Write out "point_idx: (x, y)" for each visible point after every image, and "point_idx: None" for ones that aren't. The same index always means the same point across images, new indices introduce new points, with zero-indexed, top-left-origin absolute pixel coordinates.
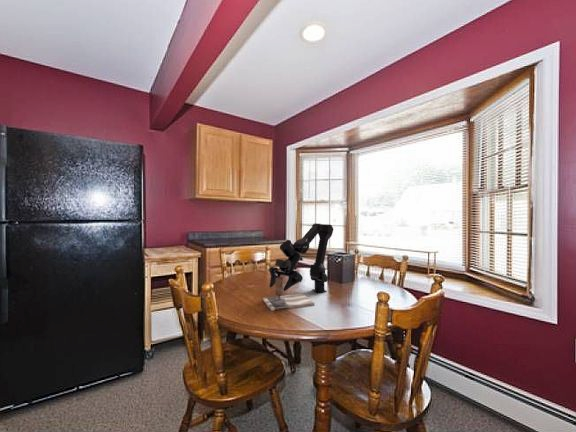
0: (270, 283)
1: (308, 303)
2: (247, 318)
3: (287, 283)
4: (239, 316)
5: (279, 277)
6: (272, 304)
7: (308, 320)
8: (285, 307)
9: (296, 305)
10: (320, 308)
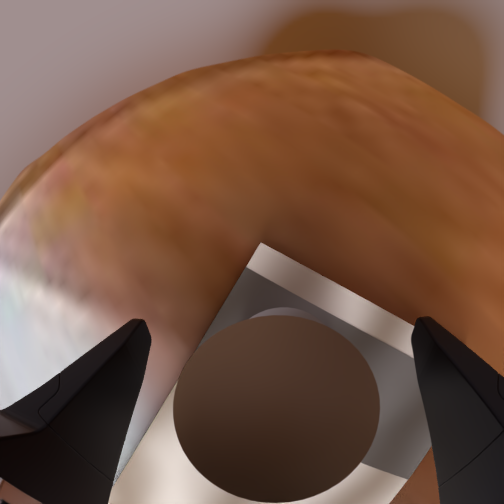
0: (448, 337)
1: (120, 479)
2: (285, 99)
3: (66, 376)
4: (337, 92)
5: (323, 484)
6: (314, 309)
7: (31, 284)
8: (201, 343)
9: (156, 415)
10: None
